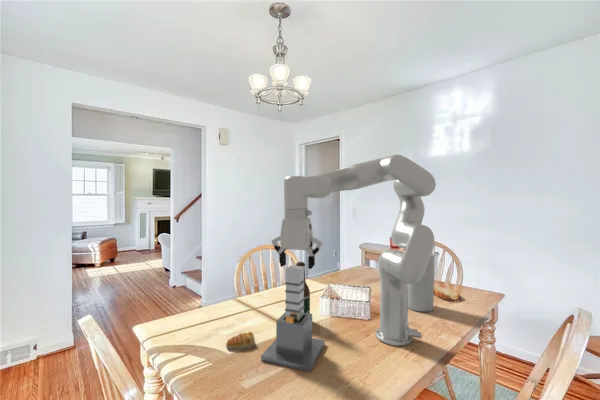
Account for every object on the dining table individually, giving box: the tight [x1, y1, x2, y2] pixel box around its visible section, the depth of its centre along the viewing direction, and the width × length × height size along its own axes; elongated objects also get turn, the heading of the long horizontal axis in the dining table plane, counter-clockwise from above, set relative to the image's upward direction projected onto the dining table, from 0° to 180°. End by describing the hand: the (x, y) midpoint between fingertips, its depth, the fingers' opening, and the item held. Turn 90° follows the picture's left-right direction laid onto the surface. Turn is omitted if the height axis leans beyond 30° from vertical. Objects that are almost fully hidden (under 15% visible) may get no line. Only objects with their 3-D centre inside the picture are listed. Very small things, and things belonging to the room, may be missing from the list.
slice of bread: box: [434, 285, 461, 302], centre depth 148 cm, size 18×18×4 cm
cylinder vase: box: [407, 252, 435, 313], centre depth 131 cm, size 12×12×25 cm
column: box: [284, 264, 306, 322], centre depth 92 cm, size 5×5×18 cm
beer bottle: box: [295, 261, 311, 314], centre depth 115 cm, size 8×8×24 cm
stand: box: [260, 311, 326, 373], centre depth 92 cm, size 16×16×13 cm
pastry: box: [225, 331, 256, 350], centre depth 97 cm, size 9×7×4 cm
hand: (296, 266), depth 92 cm, fingers open, 9 cm apart
